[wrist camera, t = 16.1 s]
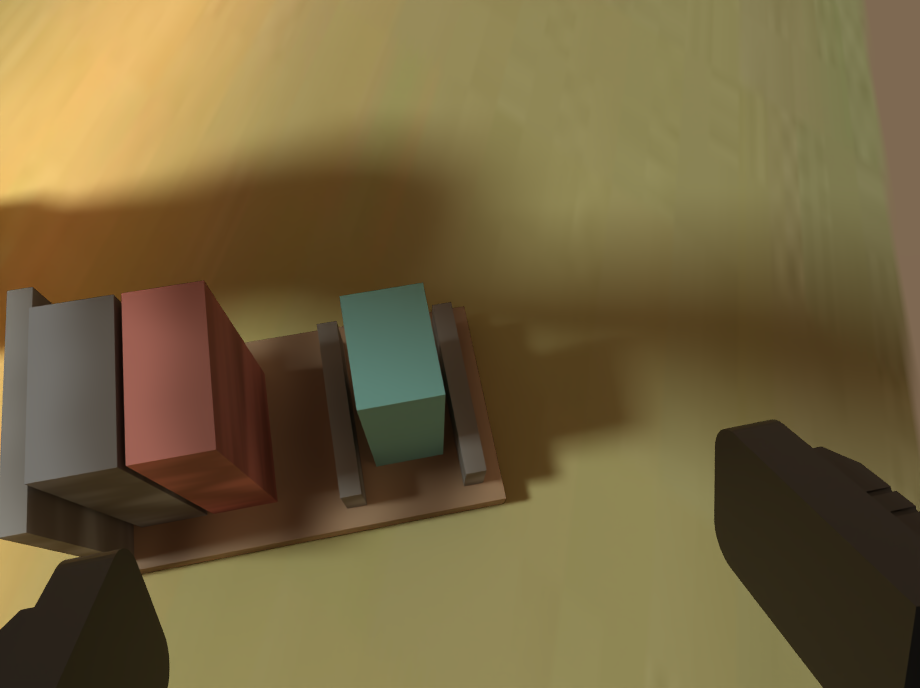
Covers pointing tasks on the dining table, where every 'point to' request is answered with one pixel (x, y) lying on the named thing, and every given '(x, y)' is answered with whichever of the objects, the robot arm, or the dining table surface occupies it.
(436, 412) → the teal block
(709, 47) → the dining table surface
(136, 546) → the book rack
